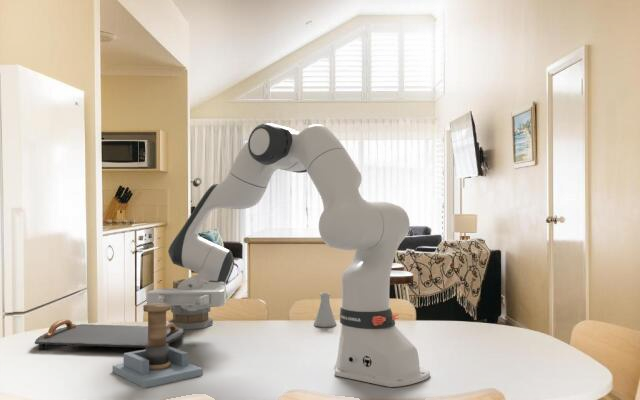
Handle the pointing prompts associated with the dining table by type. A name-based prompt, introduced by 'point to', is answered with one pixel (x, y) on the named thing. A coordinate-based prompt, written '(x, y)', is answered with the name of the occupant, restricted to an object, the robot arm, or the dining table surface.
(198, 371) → the notched block
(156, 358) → the bobbin
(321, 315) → the flask
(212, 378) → the dining table surface
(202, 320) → the tankard
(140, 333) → the serving board
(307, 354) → the dining table surface
